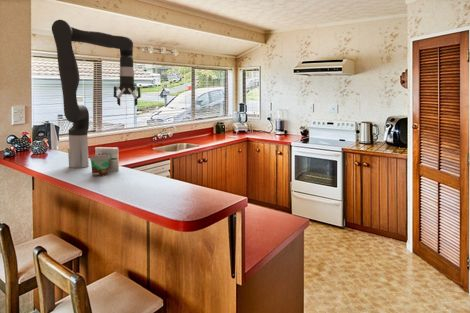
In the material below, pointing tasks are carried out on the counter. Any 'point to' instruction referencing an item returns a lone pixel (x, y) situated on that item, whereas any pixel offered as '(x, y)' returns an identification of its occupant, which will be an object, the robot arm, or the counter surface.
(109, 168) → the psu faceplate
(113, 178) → the counter surface
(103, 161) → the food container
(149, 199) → the counter surface
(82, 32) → the robot arm
